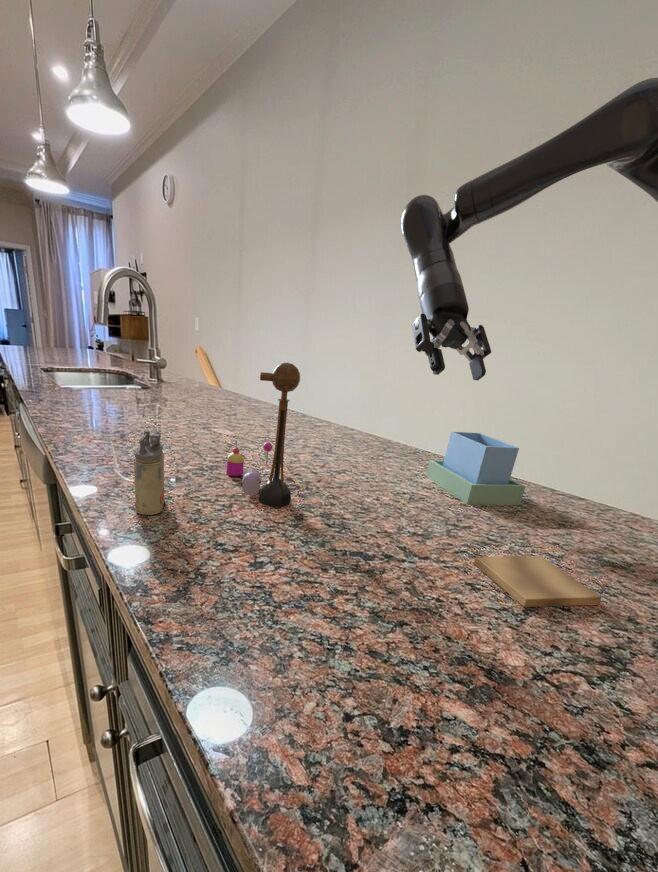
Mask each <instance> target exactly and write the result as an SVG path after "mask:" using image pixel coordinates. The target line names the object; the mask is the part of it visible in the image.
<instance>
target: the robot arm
mask: <svg viewBox="0 0 658 872" xmlns="http://www.w3.org/2000/svg"><path fill="white" fill-rule="evenodd" d="M604 164H605V165H606V166H607V167H609V168H610V169H611V170H613V171H615V173H618V174H619V175H621V176H622V177H623V178H625V179H627V180H628V181H630V182H631V183H632V184H634V185H635V186H637V187H638V188H639V189H641V190H642V191H643V192H645V193H646V194H647V195H649V196H650V197H651V198H652V199H654V201H655V202H656V203H657V204H658V77H650V78H646V79H643V80H641V81H638V82H636V83H635V84H633V85H632V86H630V87H628V88H627V89H625V90H624V91H622V92H621V93H619V94H618V95H616V96H615V97H613V98H611V100H609V101H607V102H606V103H604V104H603V105H601V106H600V107H599V108H596V109H595V110H594V111H593V112H591V113H590V114H588V115H587V116H586V117H583V118H582V119H580V120H579V121H578V122H576V123H575V124H573V125H571V126H570V127H569V128H567V129H565V130H563V131H562V132H560V133H559V134H557V135H554V136H553V137H552V138H550V139H548V140H546V141H544V142H543V143H541V144H539V145H538V146H536V147H534V148H532V149H530V150H528V151H526V152H525V153H522V154H520V155H519V156H517V157H514V158H512V159H511V160H509V161H507V162H505V163H502V164H500V165H499V166H497V167H494V168H493V169H491V170H489V171H486V172H484V173H483V174H481V175H479V176H477V177H475V178H473V179H471V180H469V181H466V182H465V183H464V184H461V185H460V186H459V187H458V188H457V189H456V191H455V193H454V206H453V207H452V208H451V209H450V210H448V211H447V212H445V213H444V212H443V211H442V209H441V206H440V204H439V202H438V201H437V200H436V199H435V198H434V197H433V196H431V195H428V194H420V195H416V196H415V197H413V198H412V199H410V200H409V202H408V203H407V204H406V206H405V207H404V209H403V211H402V214H401V218H400V229H401V232H402V235H403V239H404V241H405V245H406V246H407V247H406V248H407V250H408V252H409V255H410V256H411V261H412V264H413V271H414V276H415V280H416V285H417V296H418V300H419V304H420V309H421V314H419V316H418V317H417V318H416V319H415V320H414V321H413V323H412V324H411V327H412V333H413V334H412V335H413V339H414V346H415V350H416V352H417V353H421V352H424V354H425V356H426V357H427V359H428V363H429V367H430V368H429V369H430V370H431V371H432V374H433V375H435V376H436V375H437V376H439V375H440V374H441V373H442V372H444V371H445V369H446V364H445V360H444V355H443V352H442V348H450V349H452V350H456V352H457V353H458V354H459V355H460V356H464V357H465V358H466V359H467V360H468V365H469V369H470V372H471V377H472V380H473V381H477V382H478V381H479V380H481V379H482V378H483V377H484V376H486V373H487V370H486V365H485V361H484V359H485V358H486V357H488V356H489V355H490V354H492V349H491V346H490V342H489V339H488V335H487V333H486V330H485V327H484V325H483V324H478V326H476V327H474V326H473V327H472V326H471V324H470V323H469V321H468V316H469V312H470V307H469V304H468V299H467V296H466V295H467V294H466V292H465V288H464V283H463V279H462V277H461V273H460V271H459V269H458V267H457V263H456V259H455V255H454V252H453V249H452V247H451V243H453V242H454V241H455V240H457V239H458V238H460V237H461V236H462V235H464V234H465V233H466V232H468V231H469V230H470V229H471V228H473V227H474V226H477V225H480V224H481V223H484V222H486V221H489V220H491V219H493V218H496V217H497V216H500V215H502V214H504V213H507V212H508V211H510V210H512V209H514V208H516V207H518V206H520V205H521V204H523V203H525V202H526V201H528V200H529V199H531V198H533V197H534V196H536V195H538V194H540V193H541V192H543V191H544V190H546V189H548V188H549V187H551V186H553V185H555V184H557V183H559V182H561V181H563V180H564V179H567V178H569V177H571V176H574V175H576V174H578V173H581V172H584V171H586V170H589V169H592V168H594V167H598V166H601V165H604ZM431 336H432V337H431ZM467 340H468V343H467V345H466V346H463V345H464V344H465V343H466V341H467ZM441 347H442V348H441ZM470 349H472V350H473V353H472V352H471V351H470Z"/></svg>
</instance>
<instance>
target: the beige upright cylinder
mask: <svg viewBox="0 0 658 872" xmlns="http://www.w3.org/2000/svg"><path fill="white" fill-rule="evenodd" d="M138 442H139V445H138V446H137V449H136V450H135V453H134V460H133V471H134V473H133V475H134V499H135V500H134V501H135V502H134V506H135V507H134V508H135V509H134V510H135V513H137V514H138V515H139V514H140V515H144V516H145V515H146V516H152V515H157V514H160V513H162V512H163V508H164V504H165V500H166V498H165V454H164V451H163V449H164V448H163V445H162V444H161V433H160V432H159V431H155V432H154V433H151V431H150V430H143V437H141V438H139V439H138Z"/></svg>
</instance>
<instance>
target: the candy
mask: <svg viewBox="0 0 658 872" xmlns="http://www.w3.org/2000/svg"><path fill="white" fill-rule="evenodd" d="M262 448H263V450H264V452H266V454H265V456H266V457H265V466H268V459H269V452H271V451H272V450H273V444H272V443H271V442H269V441H268V442H265V443H263V447H262ZM244 463H245V458H244V457H243V454H241V453H240V449H239V448H238V439H236V440H235V447H233V449H232V452H231V453H230V454H228V456H227V459H226V474H227V475H228V476H229V477H233V478H235V477H236V478H237V477H241V476H242V480H241V481H242V486H241V489H242V491H243V493H244V494H246V495H247V496H250V497H252V496H255V495H259V493H260V491H261V483H262V480H261V478H260V477H261V475H260V471H259V470H258V469H257V468H255V467H249V468H245V469H244Z"/></svg>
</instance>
